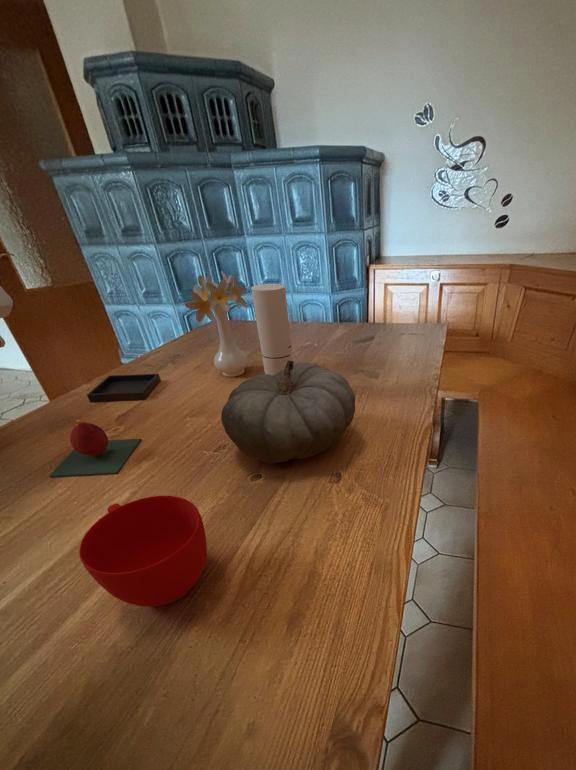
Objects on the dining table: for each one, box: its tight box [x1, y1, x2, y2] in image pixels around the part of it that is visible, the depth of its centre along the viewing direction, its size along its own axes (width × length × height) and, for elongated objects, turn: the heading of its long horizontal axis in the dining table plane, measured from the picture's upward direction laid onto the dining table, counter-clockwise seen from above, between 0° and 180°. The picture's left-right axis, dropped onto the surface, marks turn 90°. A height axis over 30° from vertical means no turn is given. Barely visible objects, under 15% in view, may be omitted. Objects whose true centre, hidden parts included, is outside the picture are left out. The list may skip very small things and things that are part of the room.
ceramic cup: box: [78, 495, 208, 607], centre depth 49 cm, size 13×17×10 cm
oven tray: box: [86, 373, 162, 403], centre depth 100 cm, size 13×12×2 cm
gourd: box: [220, 360, 356, 464], centre depth 73 cm, size 25×25×17 cm
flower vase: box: [184, 270, 249, 378], centre depth 101 cm, size 13×18×25 cm
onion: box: [69, 419, 109, 457], centre depth 72 cm, size 6×6×8 cm
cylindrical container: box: [250, 283, 295, 376], centre depth 89 cm, size 7×7×25 cm
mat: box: [48, 438, 142, 478], centre depth 75 cm, size 12×12×1 cm
